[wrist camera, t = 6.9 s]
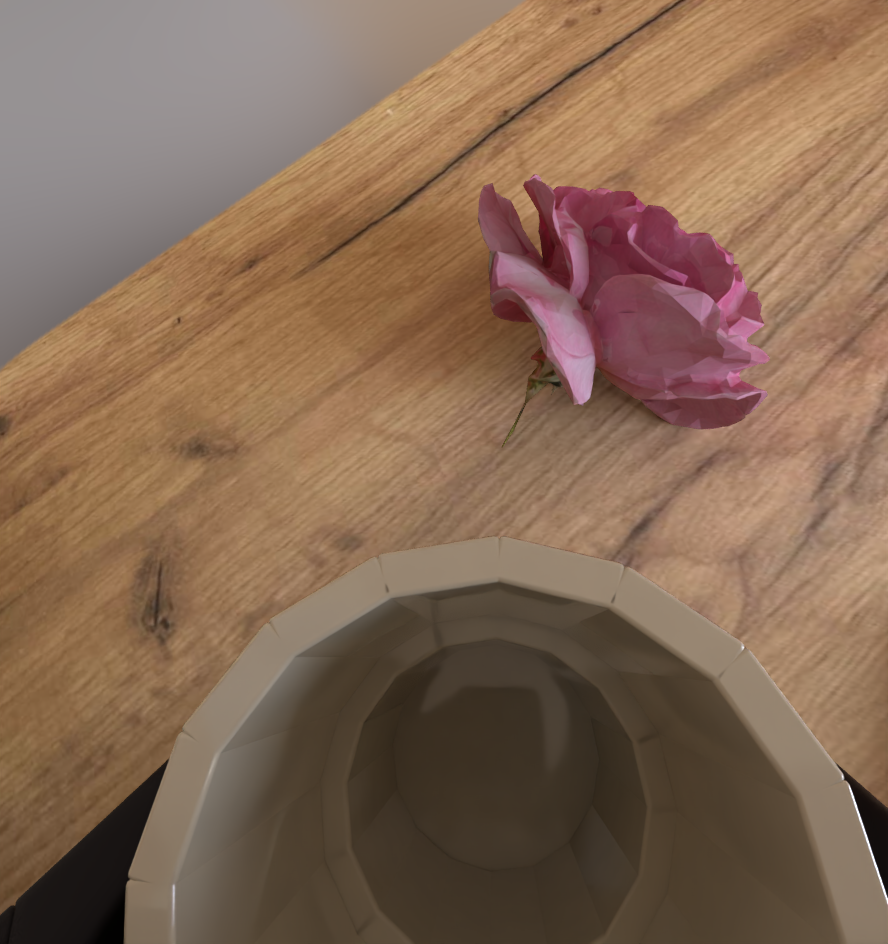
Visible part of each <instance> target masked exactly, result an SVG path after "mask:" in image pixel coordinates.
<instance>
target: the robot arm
mask: <svg viewBox="0 0 888 944" xmlns="http://www.w3.org/2000/svg"><path fill="white" fill-rule="evenodd" d="M169 759H170V758H169ZM169 759H168V760H167V761H166V762H165V763H164V764H163V765H162V766H161V767H160V768H158V769H157V770H156V771H155V772H154V773H153V774H152V775H151V776H150V777H149V778H148V779H147V780H146V781H144V782H143V783H142V784H141V785H140V786H139V787H138V788H137V789H136V790H135V791H134V792H133V793H132V794H130V795H129V796H128V797H127V798H126V799H125V800H124V801H123V802H122V803H121V804H120V805H119V806H118V807H116V808H115V809H114V810H113V811H112V812H111V813H110V814H109V815H108V816H107V817H106V818H105V819H104V820H102V821H101V822H100V823H99V824H98V825H97V826H96V827H95V828H94V829H93V830H92V831H91V832H90V833H89V834H87V835H86V836H85V837H84V838H83V839H82V840H81V841H80V842H79V843H78V844H77V845H76V846H75V847H73V848H72V849H71V850H70V851H69V852H68V853H67V854H66V855H65V856H64V857H63V858H62V859H61V860H59V861H58V862H57V863H56V864H55V865H54V866H53V867H52V868H51V869H50V870H49V871H48V872H47V873H45V874H44V875H43V876H42V877H41V878H40V879H39V880H38V881H37V882H36V883H35V884H34V885H33V886H31V887H30V888H29V889H28V890H27V891H26V892H25V893H24V894H23V895H22V896H21V897H20V898H19V899H18V900H17V902H16V905H15V906H14V905H13V906H10V907H9V908H7V909H6V910H5V911H4V912H3V913H2V914H1V915H0V944H124V921H125V892H126V885H127V882H128V880H130V878H129V877H128V873H129V870H130V867H131V864H132V862H133V859H134V856H135V853H136V850H137V848H138V845H139V842H140V839H141V837H142V834H143V831H144V828H145V825H146V823H147V820H148V817H149V814H150V812H151V809H152V806H153V803H154V800H155V798H156V795H157V792H158V789H159V786H160V784H161V781H162V778H163V775H164V773H165V770H166V767H167V764H168V761H169ZM835 764H836V765H837V766H838V768H839V769H840V770H841V772H842V773H843V775H844V780H845V781H847V782H848V783H849V785H850V787H851V790H852V793H853V796H854V799H855V802H856V805H857V808H858V811H859V814H860V817H861V820H862V823H863V826H864V829H865V832H866V835H867V838H868V841H869V844H870V847H871V850H872V853H873V856H874V859H875V862H876V865H877V868H878V871H879V874H880V877H881V880H882V883H883V886H884V889H885V892H886V895H887V898H888V808H887V807H886V806H885V805H883V804H882V803H881V802H880V801H879V800H878V799H877V798H875V797H874V796H873V795H872V794H871V793H870V792H869V791H867V790H866V789H865V788H864V787H863V786H862V785H861V784H859V783H858V782H857V781H856V780H855V779H854V778H853V777H851V776H850V775H849V774H848V773H847V772H846V771H845V770H843V769H842V768H841V767H840V766H839V765H838V764H837V763H835Z"/></svg>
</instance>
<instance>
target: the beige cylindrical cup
mask: <svg viewBox="0 0 888 944" xmlns="http://www.w3.org/2000/svg"><path fill="white" fill-rule="evenodd" d="M269 621H270V622H267V623H265V624H264V625H263V626H262V627H261V629H260V630H259V631H258V632H257V634H256V635H255V636H254V637H253V639H252V640H251V641H250V642H249V644H248V645H247V646H246V647H245V649H244V650H243V651H242V652H241V654H240V655H239V656H238V657H237V659H236V660H235V661H234V662H233V664H232V665H231V666H230V667H229V669H228V670H227V671H226V672H225V674H224V675H223V676H222V677H221V679H220V680H219V681H218V683H217V684H216V685H215V686H214V688H213V689H212V690H211V691H210V693H209V694H208V695H207V696H206V698H205V699H204V700H203V701H202V703H201V704H200V705H199V706H198V708H197V709H196V710H195V711H194V713H193V714H192V715H191V716H190V718H189V719H188V720H187V721H186V723H185V724H184V726H183V728H182V730H183V731H181V732H180V734H179V735H178V736H177V739H176V742H175V745H174V748H173V750H172V753H171V756H170V759H169V761H168V764H167V767H166V770H165V773H164V775H163V778H162V781H161V784H160V786H159V789H158V792H157V795H156V798H155V800H154V803H153V806H152V809H151V812H150V814H149V817H148V820H147V823H146V825H145V828H144V831H143V834H142V837H141V839H140V842H139V845H138V848H137V850H136V853H135V856H134V859H133V862H132V864H131V867H130V870H129V873H128V877H129V878H130V880H128V882H127V885H126V892H125V921H124V944H888V898H887V895H886V892H885V889H884V886H883V883H882V880H881V877H880V874H879V871H878V868H877V865H876V862H875V859H874V856H873V853H872V850H871V847H870V844H869V841H868V838H867V835H866V832H865V829H864V826H863V823H862V820H861V817H860V814H859V811H858V808H857V805H856V802H855V799H854V796H853V793H852V790H851V787H850V785H849V783H848V782H847V781H845V780H844V775H843V773H842V772H841V770H840V769H839V768H838V766H837V765H836V764H835V762H834V761H833V760H832V758H831V757H830V756H829V754H828V753H827V752H826V750H825V749H824V748H823V746H822V745H821V744H820V742H819V741H818V740H817V738H816V737H815V736H814V734H813V733H812V732H811V730H810V729H809V728H808V726H807V725H806V724H805V722H804V721H803V720H802V718H801V717H800V716H799V714H798V713H797V712H796V710H795V709H794V708H793V706H792V705H791V704H790V702H789V701H788V700H787V698H786V697H785V696H784V694H783V693H782V692H781V690H780V689H779V688H778V686H777V685H776V684H775V682H774V681H773V680H772V678H771V677H770V676H769V674H768V673H767V672H766V670H765V669H764V668H763V666H762V665H761V664H760V662H759V661H758V660H757V658H756V657H755V656H754V654H753V653H752V652H751V651H750V650H749V649H748V648H744V645H743V643H742V642H741V641H740V640H738V639H737V638H735V637H734V636H732V635H731V634H729V633H728V632H726V631H725V630H723V629H722V628H720V627H719V626H718V625H716V624H715V623H713V622H712V621H710V620H709V619H707V618H706V617H704V616H703V615H701V614H700V613H698V612H697V611H695V610H694V609H692V608H691V607H689V606H688V605H686V604H685V603H683V602H682V601H680V600H679V599H677V598H676V597H674V596H673V595H671V594H670V593H668V592H667V591H665V590H664V589H662V588H661V587H659V586H658V585H656V584H655V583H653V582H652V581H650V580H649V579H647V578H646V577H644V576H643V575H641V574H640V573H638V572H637V571H636V570H634V569H633V568H631V567H625V568H624V565H623V564H621V563H619V562H615V561H610V560H606V559H602V558H597V557H593V556H589V555H584V554H580V553H576V552H572V551H567V550H563V549H559V548H554V547H550V546H546V545H541V544H537V543H533V542H528V541H524V540H520V539H515V538H511V537H507V536H502V537H500V538H498V537H497V536H488V537H482V538H476V539H470V540H463V541H457V542H451V543H444V544H438V545H432V546H425V547H419V548H413V549H406V550H400V551H394V552H388V553H382V554H381V555H379V556H378V558H377V557H371V558H370V559H368V560H366V561H365V562H363V563H361V564H360V565H358V566H356V567H355V568H353V569H351V570H350V571H348V572H346V573H345V574H343V575H341V576H340V577H338V578H336V579H335V580H333V581H331V582H330V583H328V584H326V585H325V586H323V587H321V588H320V589H318V590H316V591H315V592H313V593H311V594H310V595H308V596H306V597H305V598H303V599H301V600H300V601H298V602H296V603H295V604H293V605H291V606H290V607H288V608H286V609H285V610H283V611H281V612H280V613H278V614H276V615H275V616H273V617H272V618H271V619H270V620H269Z"/></svg>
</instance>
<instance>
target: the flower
mask: <svg viewBox="0 0 888 944" xmlns="http://www.w3.org/2000/svg"><path fill="white" fill-rule="evenodd" d="M523 186H524V188H525V190H526V191H527V193H528V195H529V196H530V198H531V200H532V201H533V203H534V205H535V207H536V208H537V210H538V212H539V220H540V223H539V234H540V240H541V248H542V256H543V259H542V257H541V256H540V254H539V252H538V251H537V249H536V248H535V247H534V245H533V244H532V243H531V241H530V240H529V238H528V236H527V235H526V233H525V231H524V230H523V228H522V225H521V222H520V219H519V216H518V214H517V212H516V210H515V208H514V206H513V204H512V202H511V201H510V200H508V199H506V198H503V197H502V196H500V195H499V194H497V193H496V192H495V190H494V187H493V184H492V183H491V184H488V185H485V186H484V187H483V189H482V191H481V195H480V200H479V213H478V222H479V225H480V228H481V232H482V235H483V238H484V241H485V243H486V244H487V246H488V248H489V250H490V257H489V279H490V300H491V308H492V311H493V314H494V315H495V316H497V317H499V318H501V319H505V320H509V321H513V322H533V323H534V324H535V325H536V327H537V330H538V333H539V337H540V341H541V345H542V347H541V348H540V349H539V350H538V351H537V352H536V353H535V354H534V355H533V356H532V357H531V359H533V360H536V361H538V364H537V368H536V369H535V370H534V371H533V373H532V374H531V375H530V376H529V379H528V385H527V392H526V399H525V403H524V405H523V407H522V409H521V411H520V413H519V415H518V417H517V419H516V421H515V423H514V425H513V427H512V429H511V430H510V432H509V434H508V436H507V438H506V440H505V441H504V443H503V445H502V447H503V446H504V444H505V443H506V441H507V440H508V438H509V437H510V436H511V434H512V433H513V431H514V429H515V427H516V425H517V422H518V420H519V418H520V416H521V413H522V411H523V409H524V407H525V405H526V403H527V402H528V401H529V400H530V399H531V398H532V397H533V396H534V395H535V394H536V393H538V392H539V391H540V390H541V389H542V388H543V387H544V386H545V385H547V384H548V383H552V384H553V389H552V394H553V392H554V391H555V389H556V388H557V387H564V388H565V390H566V392H567V394H568V395H569V397H570V399H571V401H572V402H573V404H574V405H575V404H580V405H583V403H584V402H586V401H587V400H588V399H589V398H590V396H591V390H592V385H593V376H594V371H595V369H596V368H598V369H599V370H600V371H601V373H602V374H603V376H604V377H605V378H606V379H607V380H608V381H610V382H611V383H612V384H613V385H615V386H617V387H618V388H620V389H621V390H623V391H624V392H626V393H628V394H629V395H631V396H632V397H634V398H636V399H640V400H641V401H642V403H643V404H644V405H645V406H646V407H647V408H648V409H650V410H651V411H652V412H654V413H655V414H656V415H658V416H659V417H660V418H662V419H663V420H665V421H667V422H669V423H671V424H673V425H678V426H684V427H690V428H696V429H714V428H719V427H725V426H729V425H732V424H735V423H737V422H739V421H741V420H742V419H744V418H745V415H747V414H749V413H750V412H752V411H753V410H754V409H755V408H756V407H758V406H759V404H760V403H761V402H762V401H763V400H764V399H765V397H766V396H767V392H766V391H764V390H761V389H759V388H756V387H754V386H752V385H750V384H748V383H745V382H743V381H741V379H740V377H739V374H740V371H741V370H743V369H745V368H748V367H751V366H755V365H757V364H765V363H766V362H767V361H769V360H770V358H769V357H768V355H767V354H766V353H765V352H764V351H763V350H761V349H760V348H759V347H757V346H756V345H752V344H749V343H748V342H747V338H748V337H749V336H750V335H752V334H753V333H754V332H756V331H757V330H758V329H760V328H761V327H762V326H764V322H763V320H762V318H761V316H760V312H761V306H762V305H761V303H760V301H759V300H758V298H757V296H758V293H757V292H752V291H747V288H746V285H745V282H744V279H743V276H742V273H741V272H740V271H739V266H738V264H734V260H733V254H732V253H730V252H728V251H727V250H725V249H724V248H722V247H721V246H720V245H719V244H718V243H717V242H716V241H715V239H714V238H713V237H712V236H711V235H710V234H708V233H692V234H687V233H686V232H685V231H683V230H682V229H680V228H679V227H678V220H677V219H676V218H675V217H674V216H672V215H671V214H670V213H669V212H668V211H667V210H666V209H665V208H663V207H660V206H653V205H648V206H647V207H646V206H645V205H644V204H643V203H642V202H641V201H639V200H638V199H637V198H636V197H635V196H634V193H633V192H630V191H615V192H612V191H610V190H607V189H603V188H598V189H596V190H593V189H592V190H591V191H587V190H586V189H583V188H577V187H566V186H559V187H556V188H555V189H554V190H552V188H551V187H549V186H548V185H546V184H545V183H543V182H542V181H541V178H540V177H539V176H538V175H536V174H535V175H533V176H532V177H531V178H530V180H529V181H525V182H524V185H523ZM552 394H551V395H552Z"/></svg>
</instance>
